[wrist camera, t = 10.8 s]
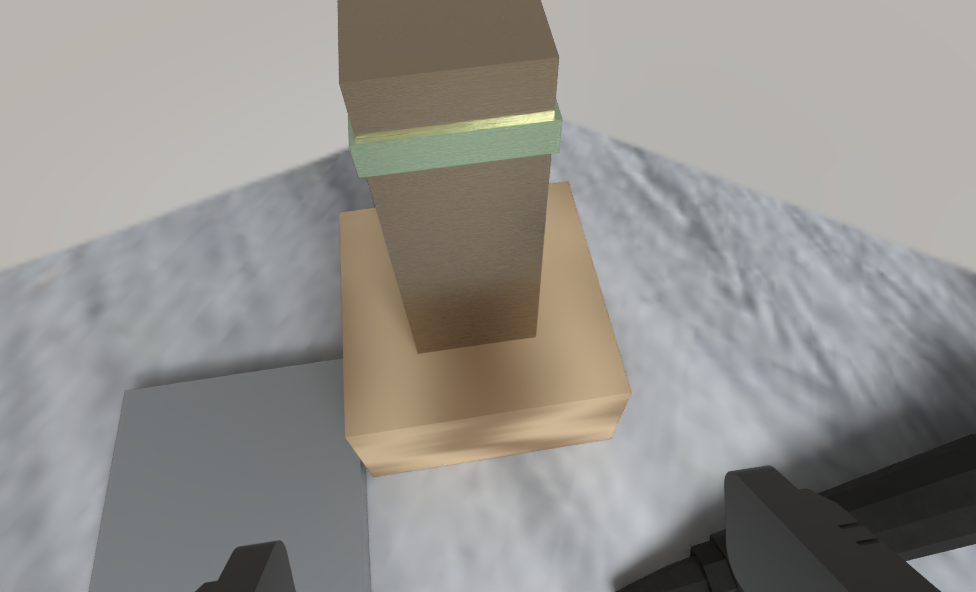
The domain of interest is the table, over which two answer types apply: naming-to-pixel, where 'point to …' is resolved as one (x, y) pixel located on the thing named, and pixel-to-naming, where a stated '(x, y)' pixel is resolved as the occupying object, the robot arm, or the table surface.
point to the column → (455, 155)
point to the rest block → (476, 361)
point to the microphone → (865, 517)
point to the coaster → (234, 482)
